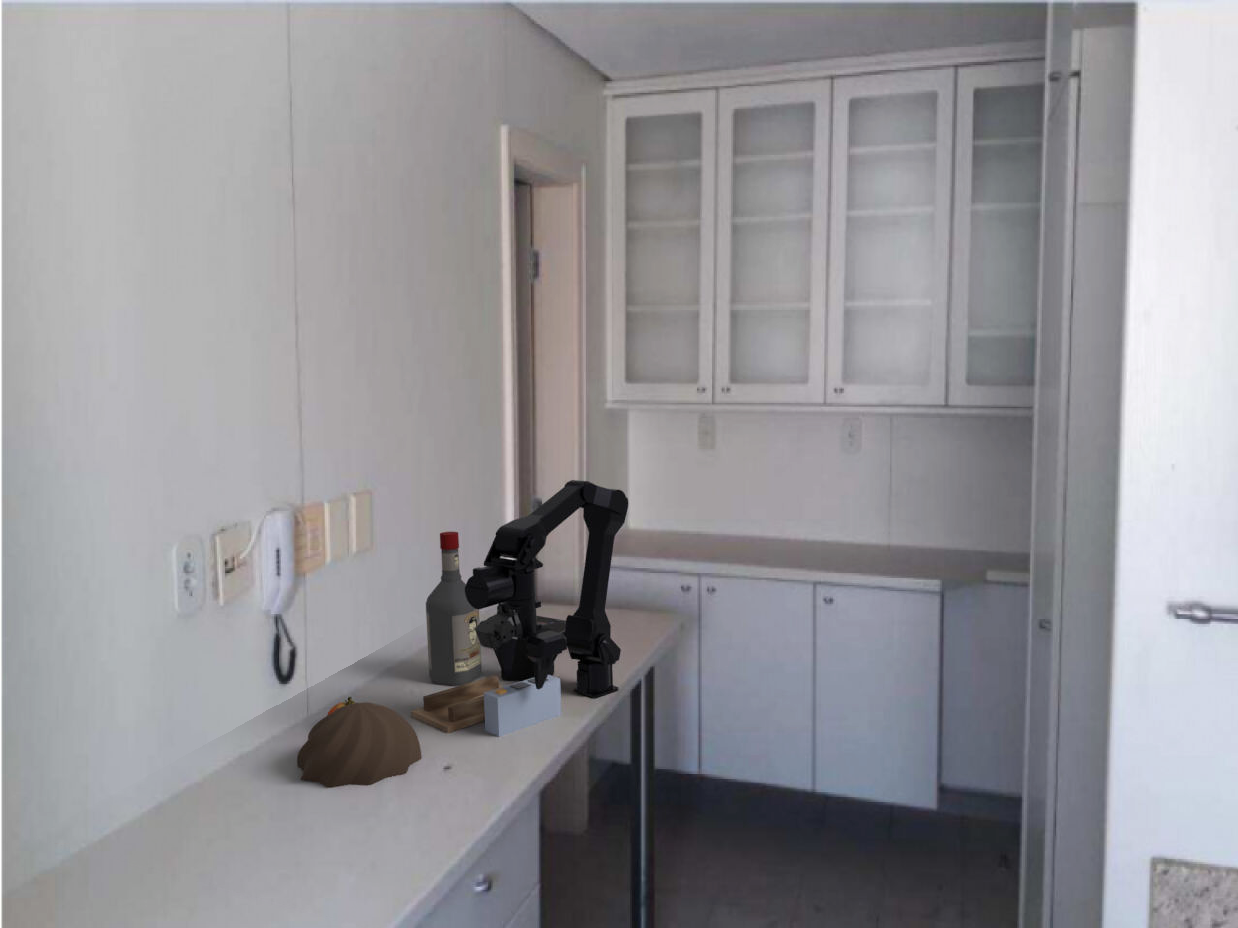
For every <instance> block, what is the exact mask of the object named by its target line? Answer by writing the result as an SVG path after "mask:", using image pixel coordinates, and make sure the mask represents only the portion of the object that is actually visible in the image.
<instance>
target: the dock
mask: <svg viewBox="0 0 1238 928" xmlns="http://www.w3.org/2000/svg"><path fill="white" fill-rule="evenodd" d="M505 686H506V685H503V684H500V678H499V676H497V675H492V676H488V677H485V678H482V679H478V680H477V679H476V680H474V681H472V682H470V683H467V684H464V685H459V686H453V687H451V688H447V689H443V690H440V691H437V692H434V693H431V694H427V695H424V696H423V699H422V701H423V707H419V708H416V709H412V710H410V717H412V718H414V719H416V720H419V721H421V722H422V723H426V724H427V725H430V726H432V727H434V728H436V729H439V730H441V731H443V732H445V733H447V734H448V733H449V734H450V733H452V732H456V731H458V730H461V729H465V728H467V727H470V726H473V725H476V724H480V723H483V722H485V711H484V693H485V692H488V691H492V690H495V689H498V688H501V687H505Z"/></svg>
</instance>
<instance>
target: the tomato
mask: <svg viewBox="0 0 1238 928" xmlns="http://www.w3.org/2000/svg"><path fill="white" fill-rule="evenodd" d="M354 703H356V702H355V701H354V700H352V696H348V697H347V699H345V700H344V702H338V703H336V704H335V705H333V706H332V707H331V708H330V709H329V710H328V712H327V715H329V714H331V713H333V712H334V711H335V710H337V709H338V708H340V707H343V706H346V705H351V704H354Z"/></svg>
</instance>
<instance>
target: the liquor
mask: <svg viewBox="0 0 1238 928" xmlns="http://www.w3.org/2000/svg"><path fill="white" fill-rule="evenodd" d="M459 537H460V536H459V532H458V531H443V532H440V533H439V544H440V545H439V547H440V550H441V551H440V552H441V553H440V554H441V577H440V581H439V582H438V584H437V585H436V586H435V587H434V589H433V590H432V591H431V592H430V594H429V595H428V597H427V599H426V602H425V614H426V615H425V617H426V637H427V638H426V639H427V653H428V655H427V656H428V659H427V661H428V675H429V678H430V679H431V682H432V683H434V684H435V685H444V686H452V687H457V686H460V685H464V684H467V683H471V682H474V681H476V680H477V679H479V678H480V677H481V675H482V673H483V671H482V648H481V647H482V645H481V644H480V642H479V639H478V636H477V634H476V631H475V627H476V626H478V625H479V624H480V622H481V621H480V609H475V608H473V607H472V606H471V605H470V604H469V602H468V600H467V598H466V595H465V587H466V583H465V582H464V581H463V580H462V575H461V572H460V558H459V557H460V555H459V548H460V543H459V542H460V541H459V539H460V538H459Z"/></svg>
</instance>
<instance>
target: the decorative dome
mask: <svg viewBox="0 0 1238 928" xmlns="http://www.w3.org/2000/svg"><path fill="white" fill-rule="evenodd" d="M420 760H422V749H421V744H420V740H419V738H418V735H417V733H416V731H415V730H414V727H413V726H412V725H411V724H410V723H409V721H407V720H406V719H405V718H404V716H402V715H401V714H400V713H398V712H396V710H393V709H392V708H389V707H388V706H385V705H382V704H378V703H372V702H369V701H365V702H355V703H354V704H351V705H346V706H343V707H340V708H338V709H337V710H335V711H334V712H333V713H331V714H329V715H328V714H326V716H324V717H322V719H320V720H319V721H318V722H317V723H315V725H314V726H312V728H311V729H310V730H309V733H308V735H307V740H306V742H304V744H303V745H302V747H301V748H300V749H299V751H298V753H297V756H296V765H297V767H298V769H300V770H301V771H302V775H301V776H300V780H301V781H305V782H312V783H313V782H314V783H319V784H320V785H322V786H324V787H326V788H327V789H333V788H337V787H344V786H349V785H350V786H372V785H374V784H376V783H378V782H380V781H383V780H385V779H388V777H389V778H393V777H397V775H398V776H402V775H406V774H407V773H408V771H409V768H410V767H411V766H412V765H414V764H415V763H417V762H419V761H420ZM392 776H393V777H392Z"/></svg>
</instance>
